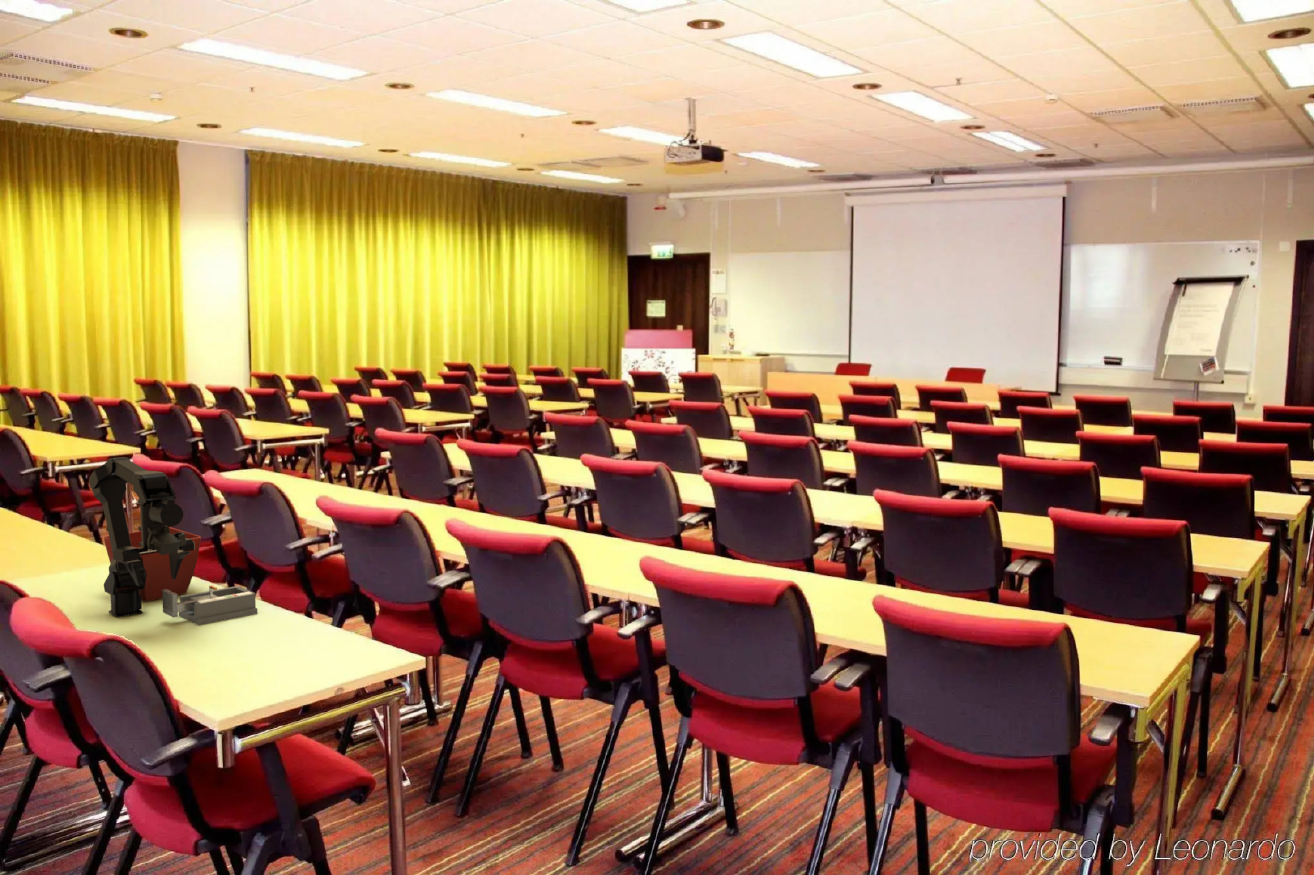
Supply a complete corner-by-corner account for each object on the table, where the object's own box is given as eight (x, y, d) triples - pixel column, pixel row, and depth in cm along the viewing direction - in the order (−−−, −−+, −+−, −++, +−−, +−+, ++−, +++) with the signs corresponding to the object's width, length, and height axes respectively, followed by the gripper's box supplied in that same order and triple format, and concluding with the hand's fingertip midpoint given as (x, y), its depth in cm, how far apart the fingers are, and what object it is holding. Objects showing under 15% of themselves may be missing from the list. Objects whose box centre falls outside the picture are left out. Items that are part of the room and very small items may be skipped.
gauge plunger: (177, 622, 266) (176, 595, 265) (162, 614, 272) (161, 587, 272) (227, 612, 276) (227, 586, 275) (212, 605, 282) (212, 579, 281)
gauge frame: (198, 625, 270) (197, 603, 269) (178, 615, 278) (178, 593, 277) (257, 613, 282) (257, 592, 281) (237, 604, 290) (236, 583, 289)
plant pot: (137, 607, 284) (135, 547, 282) (104, 594, 296) (102, 536, 294) (204, 593, 299) (202, 536, 297) (169, 581, 311) (168, 526, 309)
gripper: (133, 530, 252) (136, 594, 254) (205, 520, 267) (208, 579, 268) (110, 526, 259) (113, 588, 260) (182, 516, 274) (184, 574, 275)
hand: (156, 582), depth 266 cm, fingers open, 9 cm apart
